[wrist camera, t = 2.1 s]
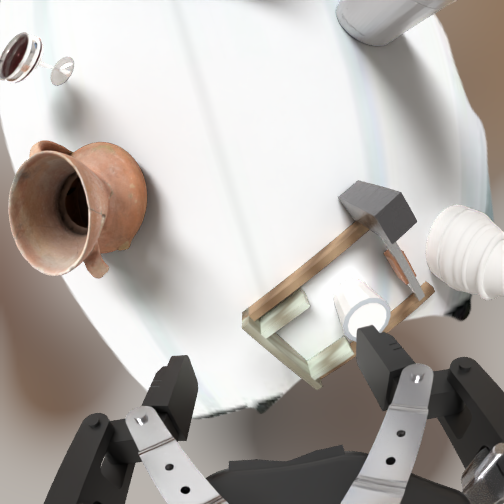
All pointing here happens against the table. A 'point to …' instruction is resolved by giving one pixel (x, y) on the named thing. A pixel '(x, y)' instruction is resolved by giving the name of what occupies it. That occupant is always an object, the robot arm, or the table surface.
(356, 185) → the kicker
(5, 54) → the wineglass
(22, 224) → the ceramic jug
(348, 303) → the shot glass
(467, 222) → the honey pot
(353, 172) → the table surface
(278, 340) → the wooden frame
